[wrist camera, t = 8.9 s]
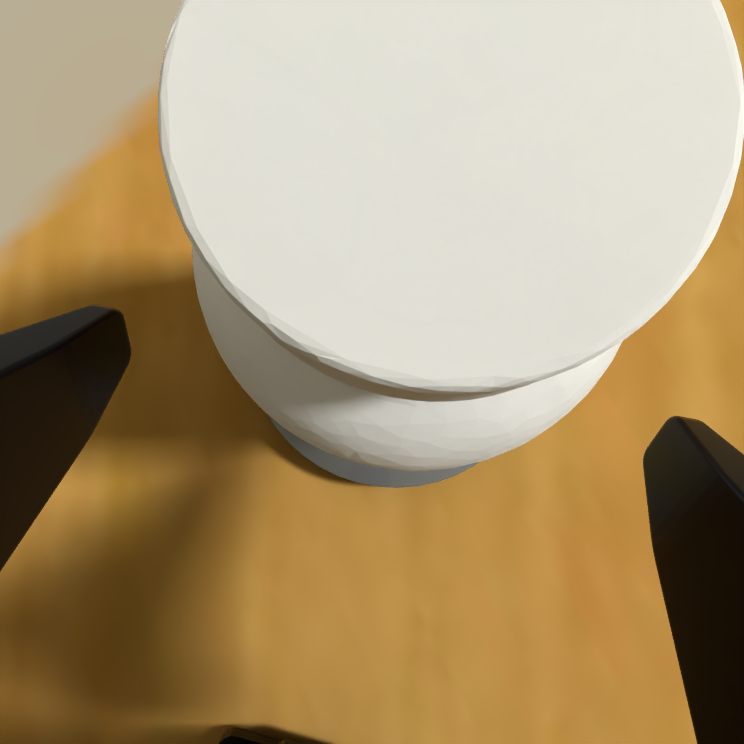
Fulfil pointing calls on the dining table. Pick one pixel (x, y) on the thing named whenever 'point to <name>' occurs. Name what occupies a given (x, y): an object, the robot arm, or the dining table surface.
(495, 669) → the dining table surface
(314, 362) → the supplement bottle
